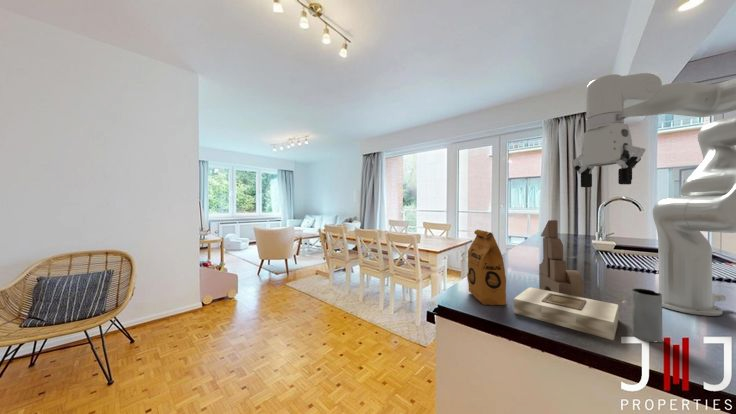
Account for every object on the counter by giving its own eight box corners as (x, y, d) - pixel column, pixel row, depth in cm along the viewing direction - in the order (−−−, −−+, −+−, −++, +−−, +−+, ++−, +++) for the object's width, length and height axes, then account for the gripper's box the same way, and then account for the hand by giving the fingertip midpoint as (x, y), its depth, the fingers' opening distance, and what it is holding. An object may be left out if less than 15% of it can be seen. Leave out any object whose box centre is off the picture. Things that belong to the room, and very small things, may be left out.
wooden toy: (585, 306, 74) (584, 221, 73) (559, 305, 75) (558, 221, 75) (558, 289, 89) (557, 218, 89) (537, 288, 90) (536, 218, 90)
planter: (669, 342, 54) (668, 295, 54) (647, 343, 54) (647, 295, 54) (646, 332, 59) (645, 288, 59) (626, 332, 59) (625, 288, 59)
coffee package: (477, 306, 75) (475, 233, 75) (465, 292, 88) (464, 229, 88) (511, 307, 74) (510, 232, 74) (494, 292, 87) (493, 228, 87)
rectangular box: (514, 312, 70) (513, 297, 70) (529, 299, 80) (529, 286, 80) (613, 340, 55) (613, 321, 55) (618, 320, 65) (618, 303, 65)
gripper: (655, 113, 61) (655, 183, 61) (584, 133, 78) (584, 188, 78) (630, 111, 60) (630, 182, 60) (563, 132, 77) (563, 188, 77)
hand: (604, 185), depth 69 cm, fingers open, 9 cm apart
